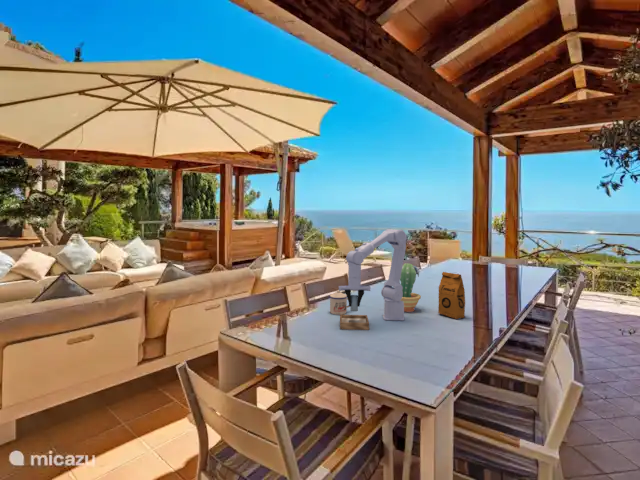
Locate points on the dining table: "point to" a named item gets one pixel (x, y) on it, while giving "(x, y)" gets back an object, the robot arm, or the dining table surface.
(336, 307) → the beige mug
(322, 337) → the dining table surface
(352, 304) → the peg
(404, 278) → the potted cactus
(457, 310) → the coffee package
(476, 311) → the dining table surface
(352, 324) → the tray box
